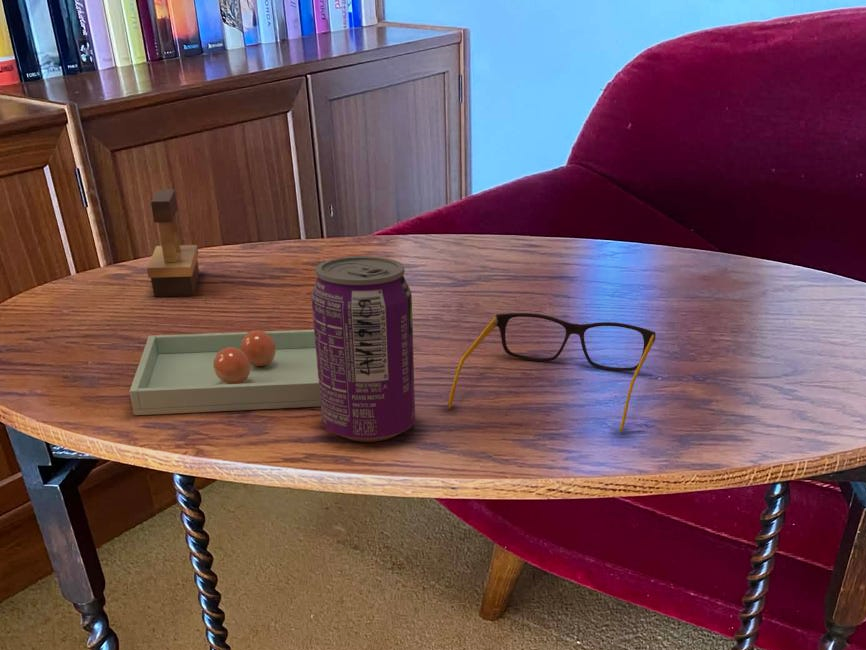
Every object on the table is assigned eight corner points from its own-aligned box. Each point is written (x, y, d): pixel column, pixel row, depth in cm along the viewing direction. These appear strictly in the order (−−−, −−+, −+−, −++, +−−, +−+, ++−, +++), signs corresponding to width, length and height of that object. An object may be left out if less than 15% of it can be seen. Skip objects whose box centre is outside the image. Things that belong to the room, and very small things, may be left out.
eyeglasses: (652, 371, 85) (658, 326, 83) (622, 435, 74) (627, 384, 71) (498, 352, 88) (499, 308, 86) (446, 410, 77) (446, 361, 75)
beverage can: (433, 423, 75) (430, 263, 68) (380, 456, 70) (371, 287, 63) (359, 404, 78) (349, 249, 71) (303, 434, 73) (287, 271, 66)
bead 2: (242, 372, 82) (237, 337, 80) (243, 360, 84) (238, 326, 82) (277, 371, 82) (273, 336, 81) (278, 358, 85) (274, 324, 83)
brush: (151, 297, 100) (135, 205, 95) (161, 273, 107) (145, 186, 102) (195, 296, 101) (180, 204, 96) (201, 272, 108) (188, 185, 103)
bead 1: (215, 391, 78) (209, 355, 77) (217, 377, 81) (212, 342, 79) (252, 389, 79) (247, 353, 77) (253, 376, 81) (249, 341, 79)
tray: (134, 415, 75) (129, 391, 74) (153, 357, 86) (148, 335, 85) (366, 404, 78) (365, 380, 77) (357, 349, 88) (355, 327, 87)
